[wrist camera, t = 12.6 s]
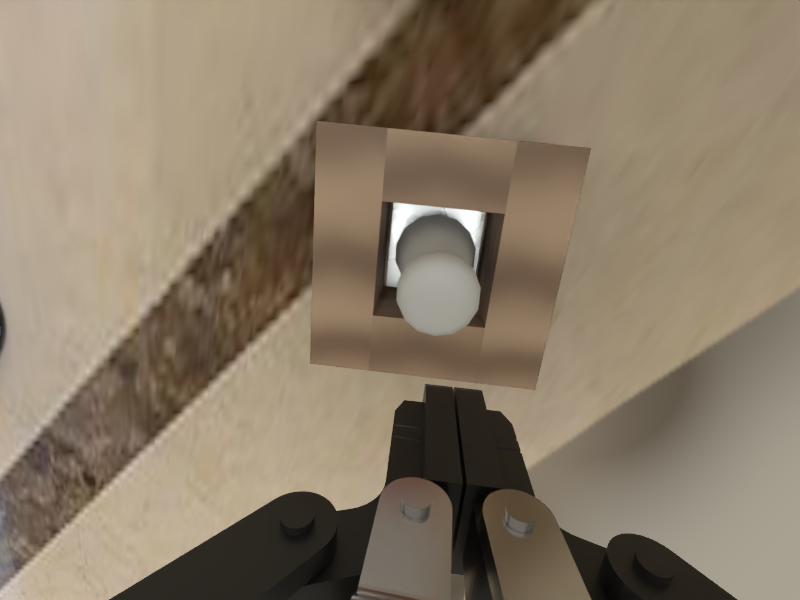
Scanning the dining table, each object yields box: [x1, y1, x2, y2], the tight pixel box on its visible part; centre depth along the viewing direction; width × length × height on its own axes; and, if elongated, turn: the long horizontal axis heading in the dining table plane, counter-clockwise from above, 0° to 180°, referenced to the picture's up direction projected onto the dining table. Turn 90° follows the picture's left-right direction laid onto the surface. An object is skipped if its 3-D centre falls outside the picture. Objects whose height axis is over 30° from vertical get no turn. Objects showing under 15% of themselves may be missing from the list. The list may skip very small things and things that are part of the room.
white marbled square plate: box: [386, 202, 486, 287], centre depth 33 cm, size 7×7×1 cm
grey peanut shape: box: [395, 214, 481, 336], centre depth 26 cm, size 6×6×13 cm
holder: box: [310, 121, 591, 390], centre depth 31 cm, size 16×16×8 cm
